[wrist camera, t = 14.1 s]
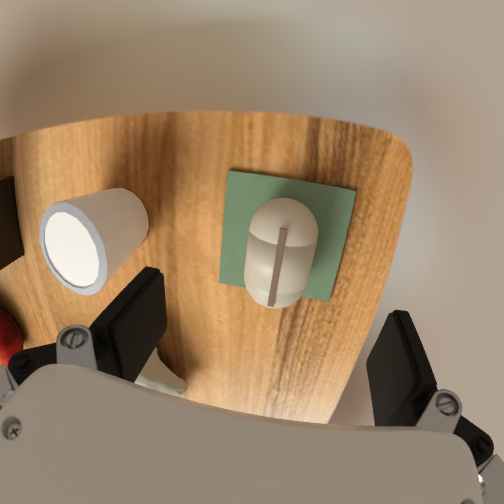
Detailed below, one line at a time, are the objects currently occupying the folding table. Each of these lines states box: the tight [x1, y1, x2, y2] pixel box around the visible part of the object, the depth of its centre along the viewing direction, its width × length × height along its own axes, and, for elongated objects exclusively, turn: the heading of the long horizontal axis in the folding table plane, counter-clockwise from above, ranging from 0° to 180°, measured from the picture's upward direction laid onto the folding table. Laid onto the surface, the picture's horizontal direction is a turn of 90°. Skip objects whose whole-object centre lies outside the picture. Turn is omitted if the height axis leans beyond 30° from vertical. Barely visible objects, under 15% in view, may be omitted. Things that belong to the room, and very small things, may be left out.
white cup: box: [40, 188, 149, 296], centre depth 19 cm, size 7×7×7 cm
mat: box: [219, 170, 356, 301], centre depth 21 cm, size 9×9×1 cm
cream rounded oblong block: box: [244, 198, 318, 309], centre depth 19 cm, size 8×4×4 cm, turn 173°
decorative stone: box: [135, 347, 187, 397], centre depth 26 cm, size 11×9×10 cm
